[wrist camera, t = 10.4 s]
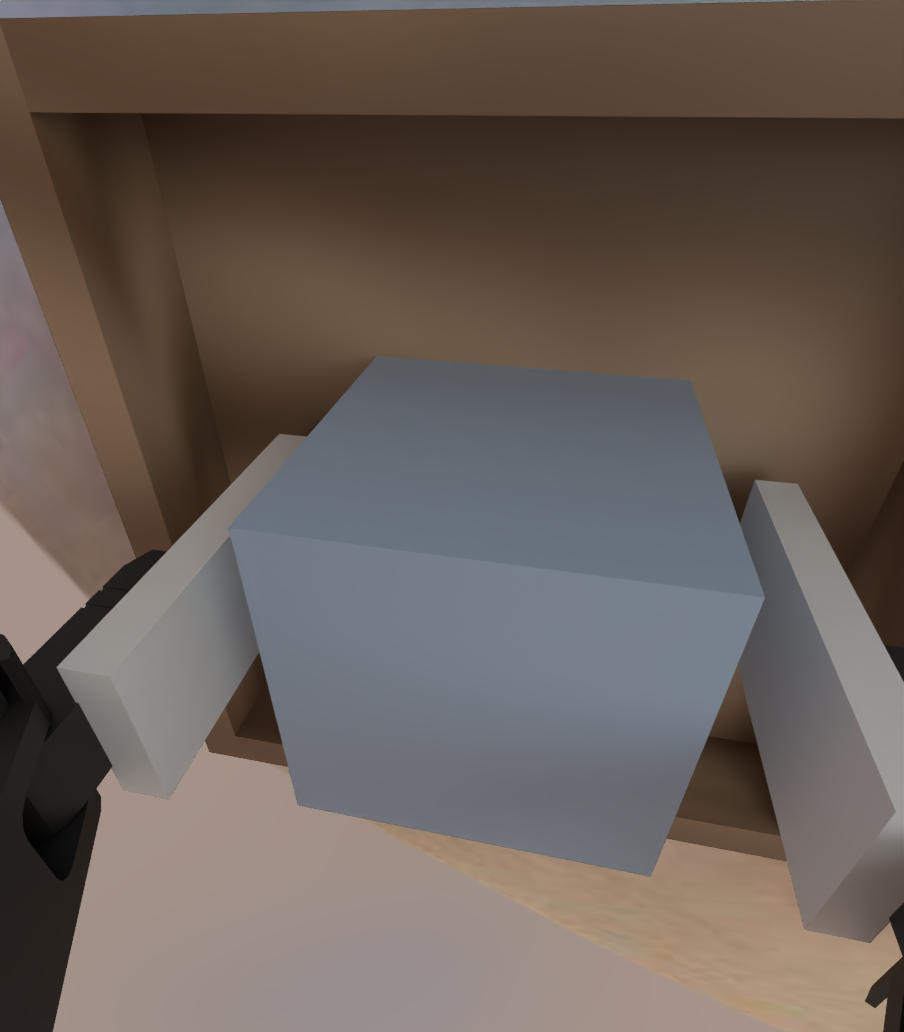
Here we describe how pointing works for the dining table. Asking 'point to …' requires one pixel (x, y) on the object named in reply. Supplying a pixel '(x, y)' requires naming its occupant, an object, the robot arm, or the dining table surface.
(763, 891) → the dining table surface
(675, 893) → the dining table surface
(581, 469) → the grey cube
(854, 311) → the walnut tray
